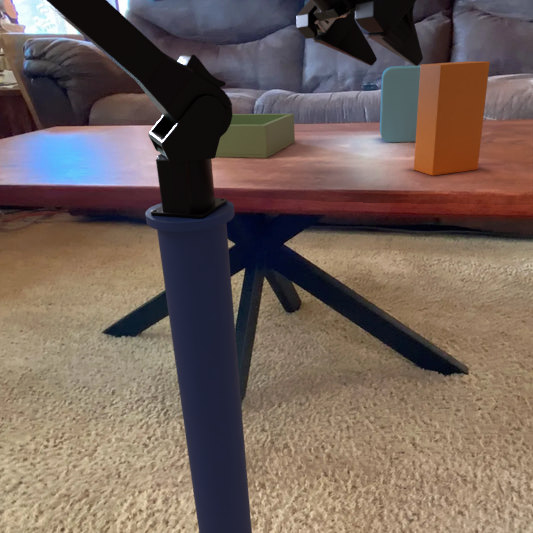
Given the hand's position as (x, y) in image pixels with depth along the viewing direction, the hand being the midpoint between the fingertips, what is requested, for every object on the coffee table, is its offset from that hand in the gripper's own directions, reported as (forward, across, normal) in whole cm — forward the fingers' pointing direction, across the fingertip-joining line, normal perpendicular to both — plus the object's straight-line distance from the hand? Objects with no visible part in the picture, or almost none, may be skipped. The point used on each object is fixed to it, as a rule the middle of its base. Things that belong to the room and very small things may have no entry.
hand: (395, 62), depth 60 cm
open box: (+3, +31, +16) cm, 35 cm away
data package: (+23, +21, -4) cm, 31 cm away
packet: (+15, -1, +4) cm, 16 cm away
